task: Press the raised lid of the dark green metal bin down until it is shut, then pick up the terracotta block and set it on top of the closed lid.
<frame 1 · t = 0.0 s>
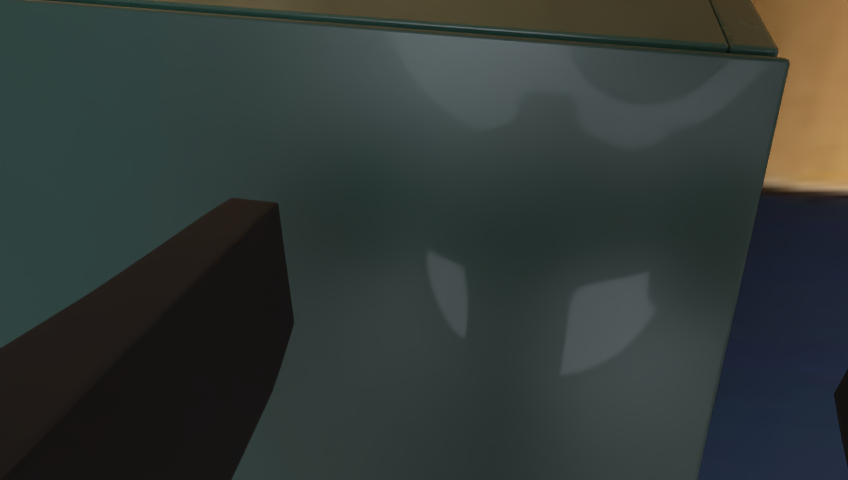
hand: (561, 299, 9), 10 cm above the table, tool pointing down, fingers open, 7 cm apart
bin: (401, 143, 20), on the table
bin lid: (332, 324, 14), point 7 cm above the table, hinge at 20.0°
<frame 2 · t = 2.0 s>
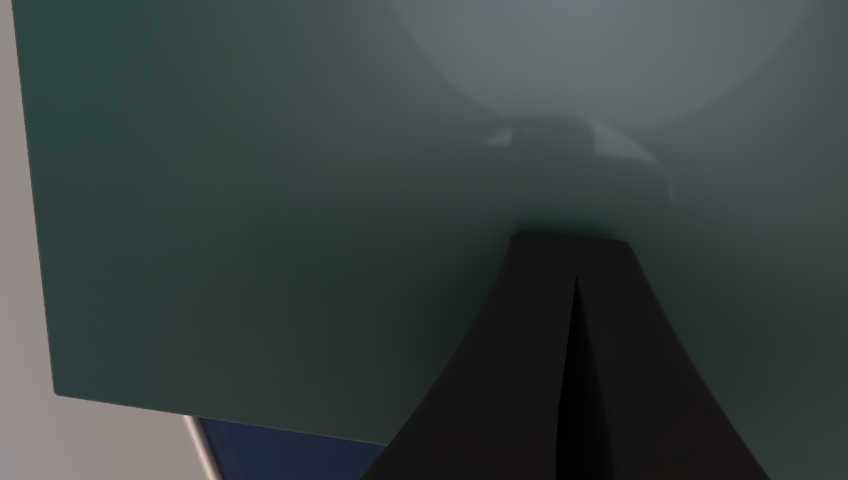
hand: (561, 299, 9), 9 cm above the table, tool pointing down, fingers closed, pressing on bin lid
bin lid: (593, 45, 8), point 7 cm above the table, hinge at 19.5°, touching gripper
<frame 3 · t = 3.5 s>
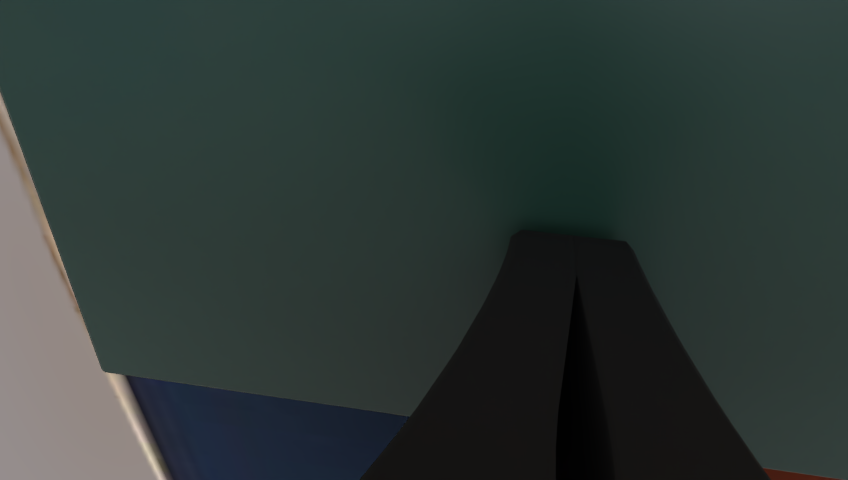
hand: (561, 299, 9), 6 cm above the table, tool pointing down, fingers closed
block: (754, 377, 17), on the table
bin lid: (589, 91, 8), point 5 cm above the table, hinge at 1.3°
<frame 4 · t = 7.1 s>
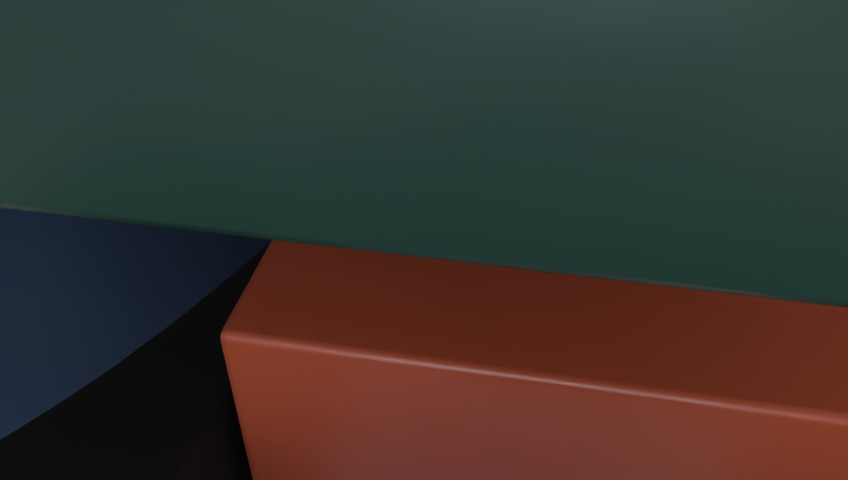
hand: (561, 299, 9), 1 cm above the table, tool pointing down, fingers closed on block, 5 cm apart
block: (560, 231, 10), on the table, touching gripper
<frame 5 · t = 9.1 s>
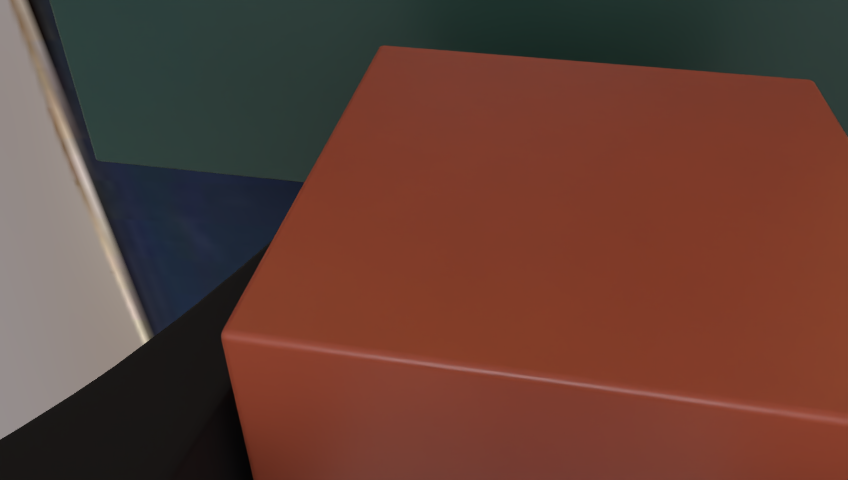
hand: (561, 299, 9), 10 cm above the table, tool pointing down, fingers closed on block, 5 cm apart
block: (560, 230, 10), point 9 cm above the table, touching gripper
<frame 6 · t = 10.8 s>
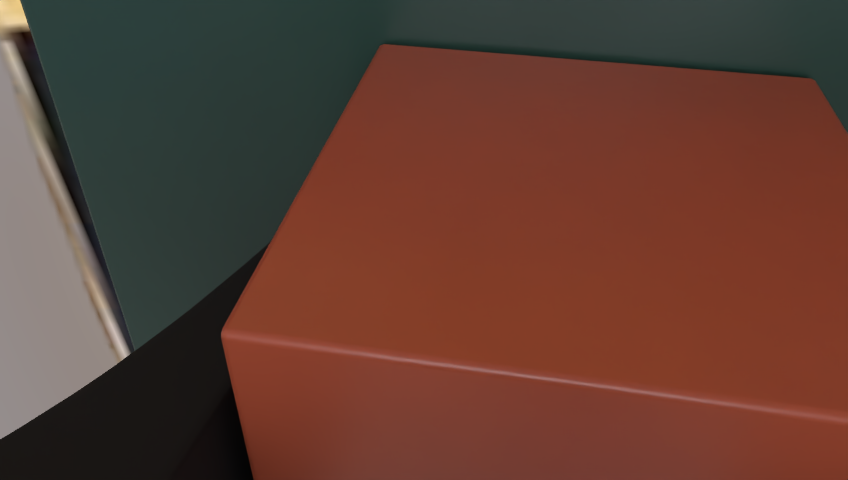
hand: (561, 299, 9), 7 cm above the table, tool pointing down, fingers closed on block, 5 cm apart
block: (561, 229, 10), point 6 cm above the table, touching bin lid, gripper
bin lid: (564, 211, 10), point 5 cm above the table, hinge at 0.7°, touching block
when the fingers open (7 cm above the table, at t = 11.0 s): block stays where it is, resting on bin lid.
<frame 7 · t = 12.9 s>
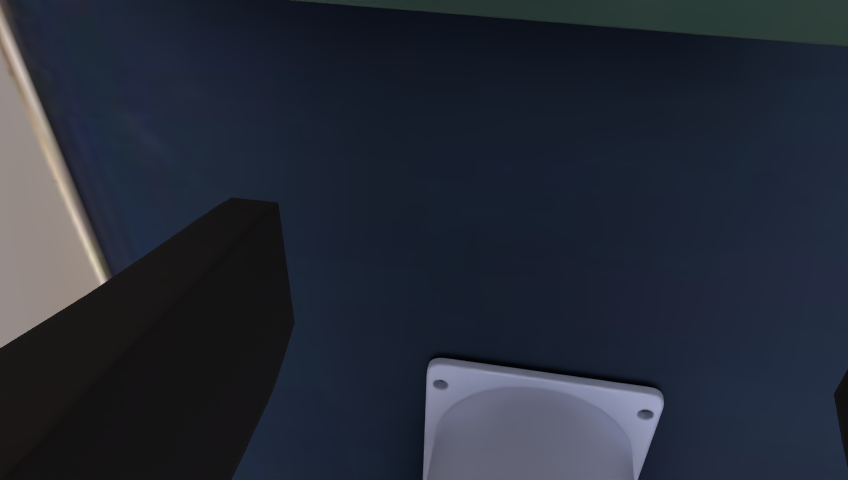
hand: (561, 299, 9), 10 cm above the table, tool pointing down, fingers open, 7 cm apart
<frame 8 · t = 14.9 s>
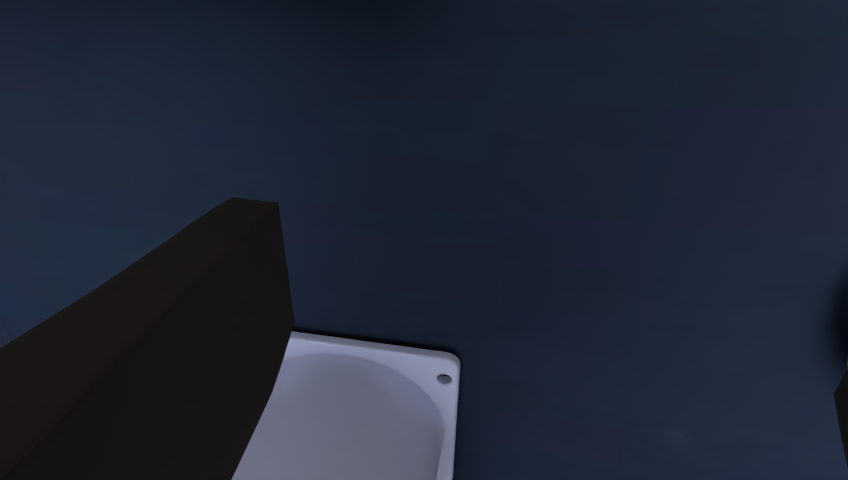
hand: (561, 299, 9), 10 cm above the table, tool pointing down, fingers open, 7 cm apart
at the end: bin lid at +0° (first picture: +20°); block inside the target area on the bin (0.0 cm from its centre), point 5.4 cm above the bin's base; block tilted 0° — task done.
